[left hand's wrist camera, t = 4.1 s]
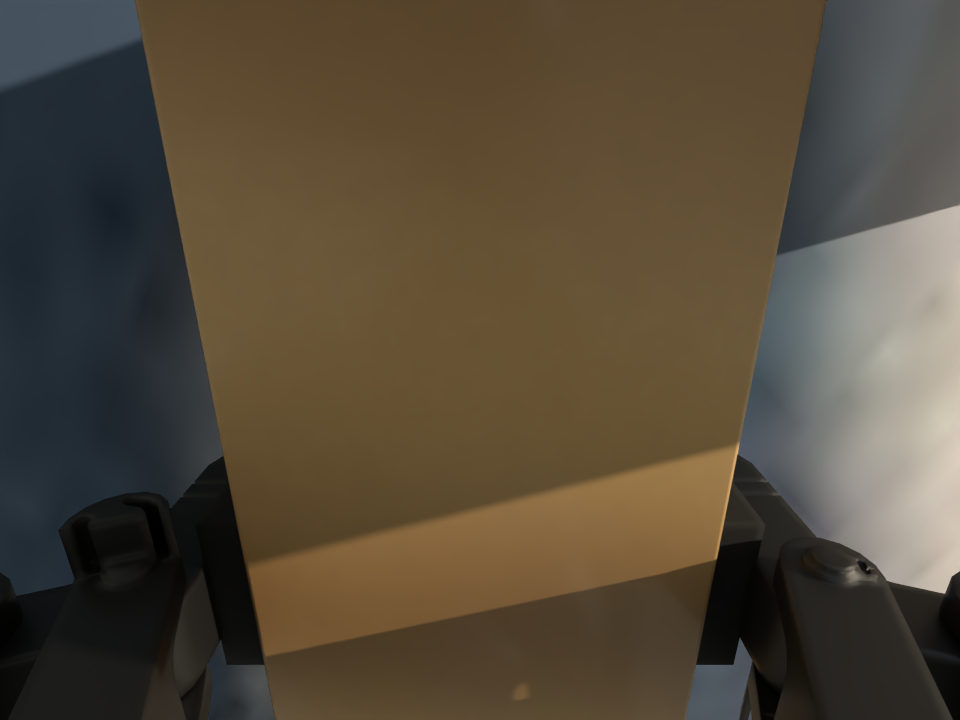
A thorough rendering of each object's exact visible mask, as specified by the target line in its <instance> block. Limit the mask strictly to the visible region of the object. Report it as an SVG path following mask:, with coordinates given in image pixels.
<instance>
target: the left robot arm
mask: <svg viewBox="0 0 960 720" xmlns="http://www.w3.org/2000/svg"><path fill="white" fill-rule="evenodd" d="M58 531H59V534H60V537H61V540H62V542H63V545H64V548H65V551H66V554H67V557H68V560H69V563H70V566H71V569H72V572H73V575H74V578H75V580H74V582H73V584H70V585H66V586H61V587H57V588H52V589H48V590H43V591H38V592H34V593H29V594H24V595H20V596H16V594H15V592H14V589H13V587H12V584H11V582H10V579H9V578H7V577H6V576H4V575H3V574H1V573H0V720H208V716H209V707H210V699H211V691H212V681H211V674H210V670H209V666H208V662H209V660H210V658H211V656H212V655H213V653H214V651H215V649H216V647H217V645H218V643H219V641H220V640H222V645H223V649H224V653H225V658H226V662H227V665H264V660H263V654H262V649H261V644H260V639H259V634H258V629H257V624H256V619H255V613H254V608H253V603H252V598H251V593H250V588H249V583H248V578H247V572H246V567H245V562H244V557H243V552H242V547H241V542H240V537H239V531H238V526H237V521H236V516H235V511H234V506H233V501H232V496H231V491H230V485H229V480H228V475H227V470H226V465H225V460H224V456H223V457H221V458H220V459H218V460H216V461H215V462H213V463H212V464H210V465H209V466H208V467H207V468H206V469H205V470H204V471H203V472H202V474H201V475H200V476H199V477H198V478H197V479H196V480H195V484H192V485H191V486H190V487H189V489H188V490H187V491H186V492H185V493H184V496H183V498H180V499H179V500H178V501H177V502H176V504H175V505H174V506H173V507H172V508H171V509H170V507H169V503H168V501H167V500H166V499H165V498H164V497H162V496H161V495H159V494H153V493H148V492H140V493H127V494H123V495H119V496H115V497H111V498H107V499H105V500H102V501H100V502H97V503H95V504H93V505H90V506H88V507H86V508H84V509H83V510H81V511H80V512H78V513H77V514H75V515H74V516H72V517H71V518H69V519H68V520H67V521H66V523H65V524H64V525H63V526H62V527H61V528H60V529H59V530H58ZM739 638H741V640H742V642H743V644H744V646H745V647H746V649H747V651H748V653H749V655H750V657H751V659H752V660H753V661H752V666H751V670H750V674H749V678H748V682H747V686H746V690H745V694H744V698H743V702H742V706H741V712H740V719H739V720H748V717H749V713H750V709H751V714H752V720H960V572H958V573H957V574H955V575H954V576H952V578H951V580H950V583H949V585H948V588H947V590H946V593H945V594H943V593H938V592H933V591H929V590H924V589H919V588H915V587H910V586H905V585H901V584H896V583H892V582H889V581H886V579H885V577H884V576H883V575H882V573H881V572H880V571H879V569H878V568H877V567H876V565H874V564H873V563H872V562H870V561H869V560H868V559H866V558H865V557H864V556H863V555H861V554H860V553H858V552H856V551H854V550H852V549H850V548H848V547H846V546H844V545H842V544H839V543H836V542H832V541H829V540H825V539H822V538H817V537H816V536H815V535H814V534H813V533H812V531H811V530H810V529H809V528H808V527H807V526H806V525H805V523H804V522H803V521H802V520H801V519H800V518H799V517H798V515H797V514H796V513H795V512H794V511H793V510H792V509H791V507H790V506H789V505H788V504H787V503H786V502H785V501H784V499H783V498H782V497H781V496H778V495H777V491H776V490H775V489H774V488H773V487H772V486H771V485H770V484H769V482H766V479H765V478H764V477H763V476H762V474H761V473H760V472H759V471H758V470H757V469H756V468H755V466H754V465H753V464H752V463H750V462H749V461H747V460H746V459H744V458H742V457H741V456H739V455H737V459H736V464H735V469H734V474H733V479H732V484H731V489H730V494H729V500H728V505H727V510H726V515H725V520H724V525H723V530H722V535H721V540H720V545H719V550H718V556H717V561H716V566H715V571H714V576H713V581H712V586H711V591H710V596H709V601H708V607H707V612H706V617H705V622H704V627H703V632H702V637H701V642H700V647H699V652H698V657H697V663H696V665H733V664H734V659H735V655H736V651H737V646H738V642H739Z"/></svg>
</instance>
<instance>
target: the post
mask: <svg viewBox="0 0 960 720" xmlns="http://www.w3.org/2000/svg"><path fill="white" fill-rule="evenodd" d="M135 4H136V9H137V14H138V19H139V24H140V29H141V35H142V40H143V45H144V50H145V55H146V60H147V65H148V70H149V76H150V81H151V86H152V91H153V96H154V101H155V106H156V111H157V117H158V122H159V127H160V132H161V137H162V142H163V147H164V152H165V158H166V163H167V168H168V173H169V178H170V183H171V188H172V193H173V199H174V204H175V209H176V214H177V219H178V224H179V229H180V234H181V239H182V245H183V250H184V255H185V260H186V265H187V270H188V275H189V280H190V286H191V291H192V296H193V301H194V306H195V311H196V316H197V321H198V327H199V332H200V337H201V342H202V347H203V352H204V357H205V362H206V368H207V373H208V378H209V383H210V388H211V393H212V398H213V403H214V409H215V414H216V419H217V424H218V429H219V434H220V439H221V444H222V450H223V455H224V460H225V465H226V470H227V475H228V480H229V485H230V491H231V496H232V501H233V506H234V511H235V516H236V521H237V526H238V531H239V537H240V542H241V547H242V552H243V557H244V562H245V567H246V572H247V578H248V583H249V588H250V593H251V598H252V603H253V608H254V613H255V619H256V624H257V629H258V634H259V639H260V644H261V649H262V654H263V660H264V665H265V670H266V675H267V680H268V685H269V690H270V695H271V701H272V706H273V711H274V716H275V720H685V719H686V714H687V708H688V703H689V698H690V693H691V688H692V683H693V678H694V673H695V668H696V663H697V657H698V652H699V647H700V642H701V637H702V632H703V627H704V622H705V617H706V612H707V607H708V601H709V596H710V591H711V586H712V581H713V576H714V571H715V566H716V561H717V556H718V550H719V545H720V540H721V535H722V530H723V525H724V520H725V515H726V510H727V505H728V500H729V494H730V489H731V484H732V479H733V474H734V469H735V464H736V459H737V454H738V449H739V443H740V438H741V433H742V428H743V423H744V418H745V413H746V408H747V403H748V398H749V393H750V387H751V382H752V377H753V372H754V367H755V362H756V357H757V352H758V347H759V342H760V336H761V331H762V326H763V321H764V316H765V311H766V306H767V301H768V296H769V291H770V286H771V280H772V275H773V270H774V265H775V260H776V255H777V250H778V245H779V240H780V235H781V230H782V224H783V219H784V214H785V209H786V204H787V199H788V194H789V189H790V184H791V179H792V173H793V168H794V163H795V158H796V153H797V148H798V143H799V138H800V133H801V128H802V123H803V117H804V112H805V107H806V102H807V97H808V92H809V87H810V82H811V77H812V72H813V66H814V61H815V56H816V51H817V46H818V41H819V36H820V31H821V26H822V21H823V16H824V10H825V5H826V0H135Z"/></svg>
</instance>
